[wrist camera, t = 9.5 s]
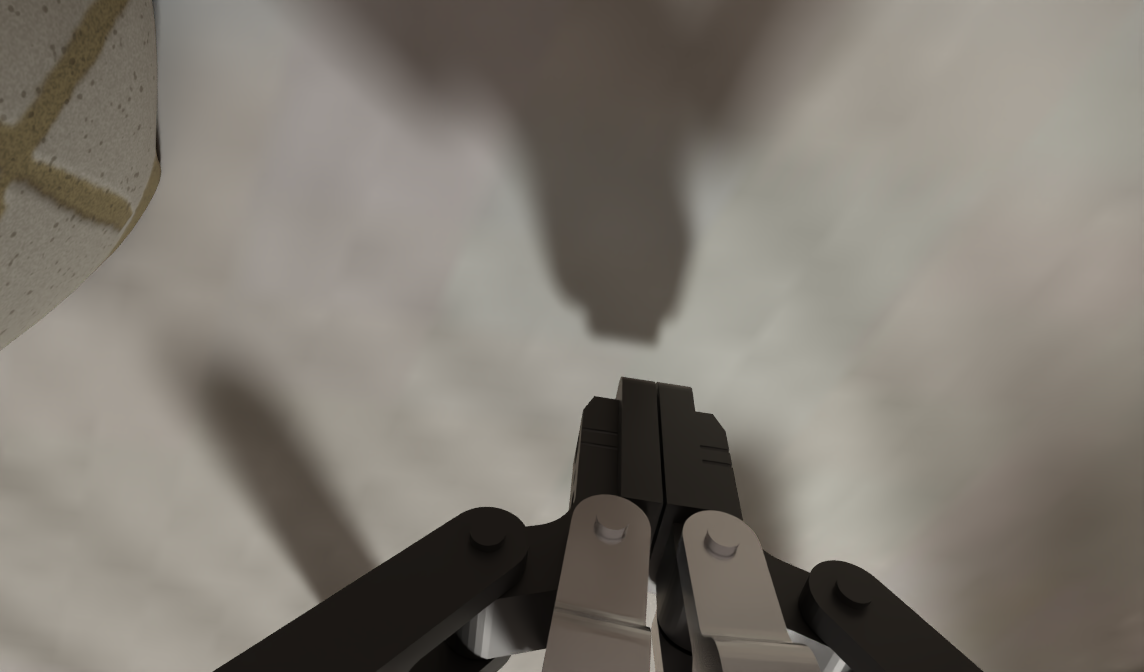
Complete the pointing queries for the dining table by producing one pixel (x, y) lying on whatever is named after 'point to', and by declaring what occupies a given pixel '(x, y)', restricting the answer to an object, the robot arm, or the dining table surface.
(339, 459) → the dining table surface
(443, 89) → the dining table surface
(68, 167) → the planter
